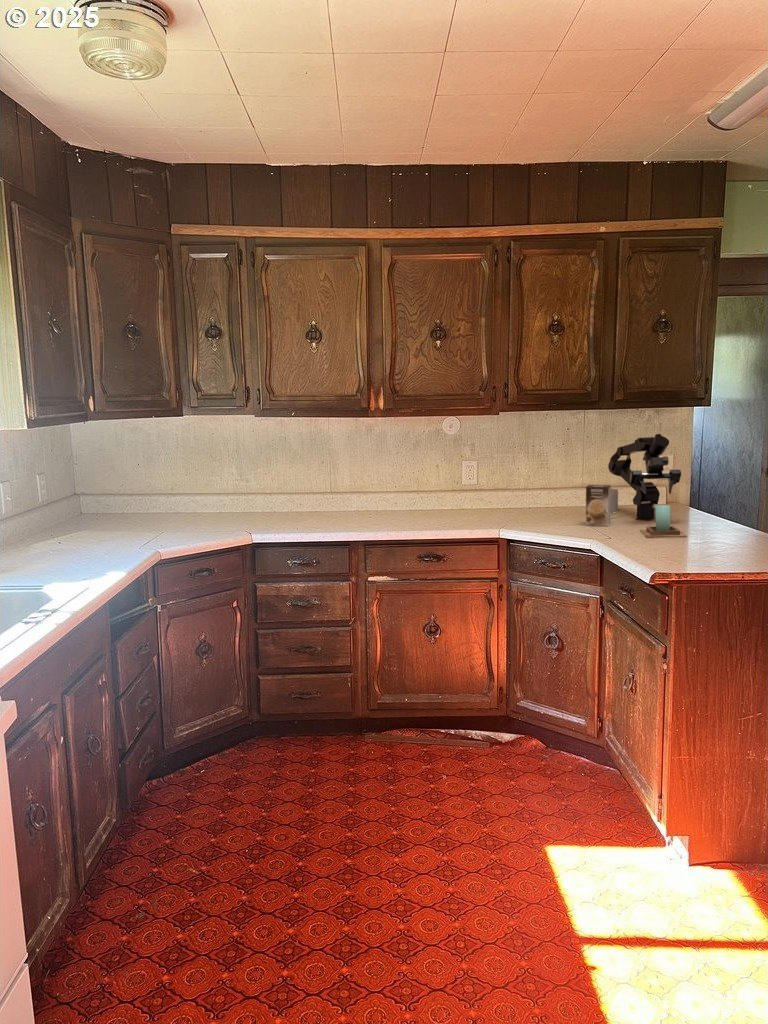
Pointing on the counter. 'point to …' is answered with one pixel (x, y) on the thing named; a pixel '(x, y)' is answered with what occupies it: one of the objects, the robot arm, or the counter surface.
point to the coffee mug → (614, 501)
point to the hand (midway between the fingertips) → (658, 493)
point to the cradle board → (662, 532)
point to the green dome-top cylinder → (662, 518)
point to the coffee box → (598, 505)
